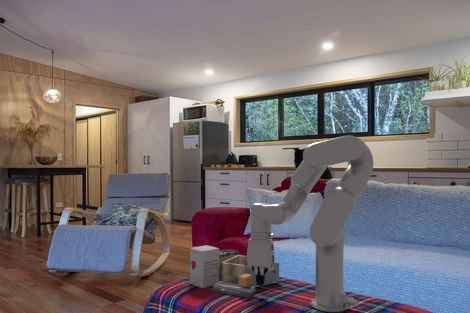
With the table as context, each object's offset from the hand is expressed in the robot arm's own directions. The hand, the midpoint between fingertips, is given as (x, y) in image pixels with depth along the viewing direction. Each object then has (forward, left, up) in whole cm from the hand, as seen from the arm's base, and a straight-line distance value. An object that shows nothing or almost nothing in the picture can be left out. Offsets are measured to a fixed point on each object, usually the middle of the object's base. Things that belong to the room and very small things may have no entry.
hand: (260, 284), depth 147 cm
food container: (+27, -22, -4) cm, 35 cm away
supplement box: (+26, -3, -5) cm, 27 cm away
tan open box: (+15, -14, -4) cm, 20 cm away
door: (+4, -12, -4) cm, 14 cm away
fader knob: (+6, 0, -3) cm, 7 cm away
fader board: (+11, 0, -4) cm, 12 cm away
